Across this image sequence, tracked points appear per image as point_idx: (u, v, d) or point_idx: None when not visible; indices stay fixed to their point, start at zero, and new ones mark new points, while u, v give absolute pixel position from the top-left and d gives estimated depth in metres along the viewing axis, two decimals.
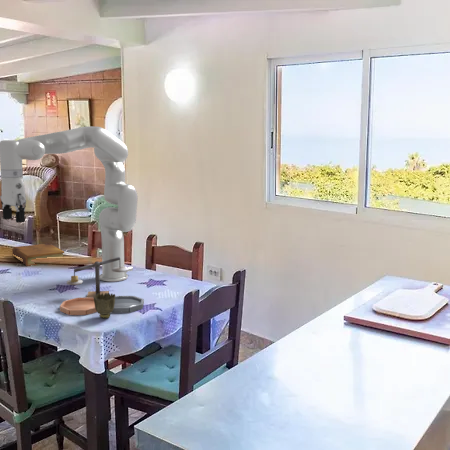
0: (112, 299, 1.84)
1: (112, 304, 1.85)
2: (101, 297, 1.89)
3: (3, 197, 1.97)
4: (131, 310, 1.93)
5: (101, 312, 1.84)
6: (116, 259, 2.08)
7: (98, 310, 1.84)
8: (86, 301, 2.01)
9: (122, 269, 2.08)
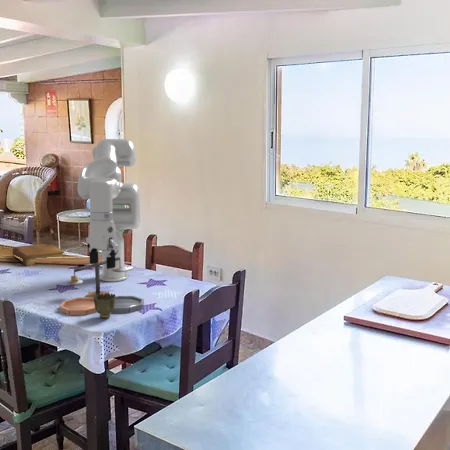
0: (112, 299, 1.84)
1: (112, 304, 1.85)
2: (101, 297, 1.89)
3: (91, 241, 1.83)
4: (131, 310, 1.93)
5: (101, 312, 1.84)
6: (116, 259, 2.08)
7: (98, 310, 1.84)
8: (86, 301, 2.01)
9: (122, 269, 2.08)
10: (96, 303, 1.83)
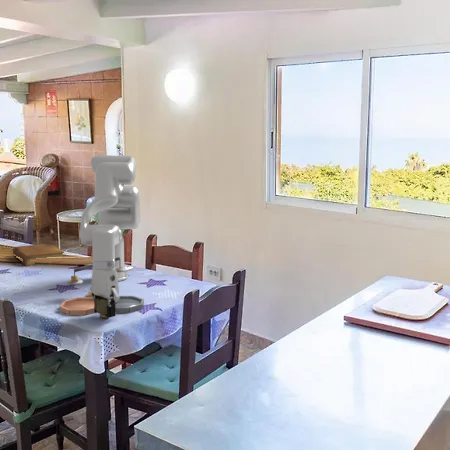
0: (112, 299, 1.84)
1: None
2: (101, 297, 1.89)
3: (94, 288, 1.85)
4: (131, 310, 1.93)
5: (101, 312, 1.84)
6: (116, 259, 2.08)
7: (98, 310, 1.84)
8: (86, 301, 2.01)
9: (122, 269, 2.08)
10: (96, 303, 1.83)
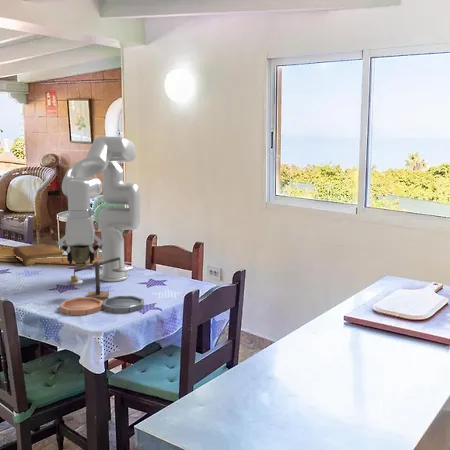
0: None
1: None
2: (71, 248, 1.93)
3: (71, 239, 1.89)
4: (131, 310, 1.93)
5: (84, 260, 1.91)
6: (116, 259, 2.08)
7: (81, 258, 1.90)
8: (86, 301, 2.01)
9: (122, 269, 2.08)
10: (79, 252, 1.89)
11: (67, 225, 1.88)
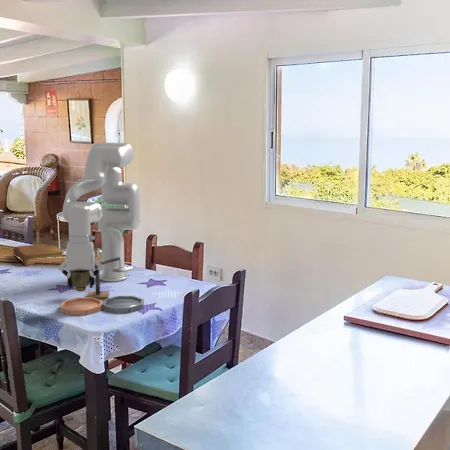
0: None
1: None
2: (71, 273, 1.94)
3: (72, 264, 1.91)
4: (131, 310, 1.93)
5: (84, 284, 1.92)
6: (116, 259, 2.08)
7: (81, 283, 1.91)
8: (86, 301, 2.01)
9: (122, 269, 2.08)
10: (79, 277, 1.91)
11: (68, 250, 1.90)
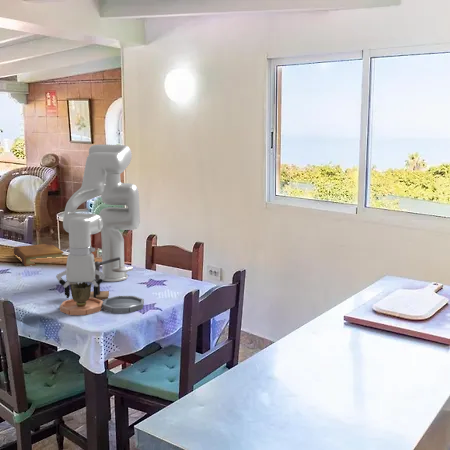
0: (90, 285, 1.96)
1: None
2: (72, 288, 1.96)
3: (72, 276, 1.91)
4: (131, 310, 1.93)
5: (84, 300, 1.94)
6: (116, 259, 2.08)
7: (81, 299, 1.93)
8: (86, 301, 2.01)
9: (122, 269, 2.08)
10: (80, 292, 1.92)
11: (68, 262, 1.91)
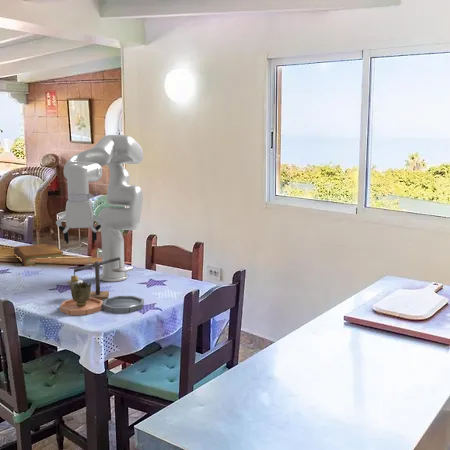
0: (90, 285, 1.96)
1: None
2: (72, 288, 1.96)
3: (71, 221, 1.98)
4: (131, 310, 1.93)
5: (84, 300, 1.94)
6: (116, 259, 2.08)
7: (81, 298, 1.93)
8: (86, 301, 2.01)
9: (122, 269, 2.08)
10: (80, 292, 1.92)
11: (67, 208, 1.97)
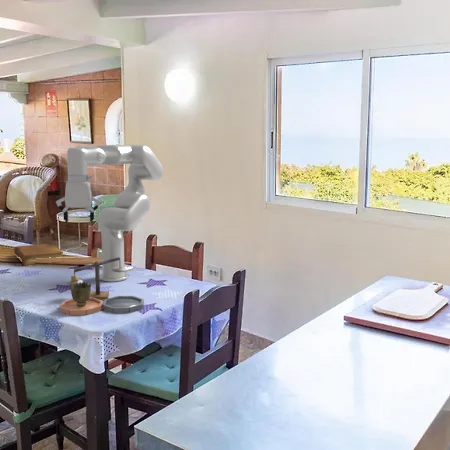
0: (90, 285, 1.96)
1: None
2: (72, 288, 1.96)
3: (70, 201, 2.10)
4: (131, 310, 1.93)
5: (84, 300, 1.94)
6: (116, 259, 2.08)
7: (81, 298, 1.93)
8: (86, 301, 2.01)
9: (122, 269, 2.08)
10: (80, 292, 1.92)
11: (67, 188, 2.09)
